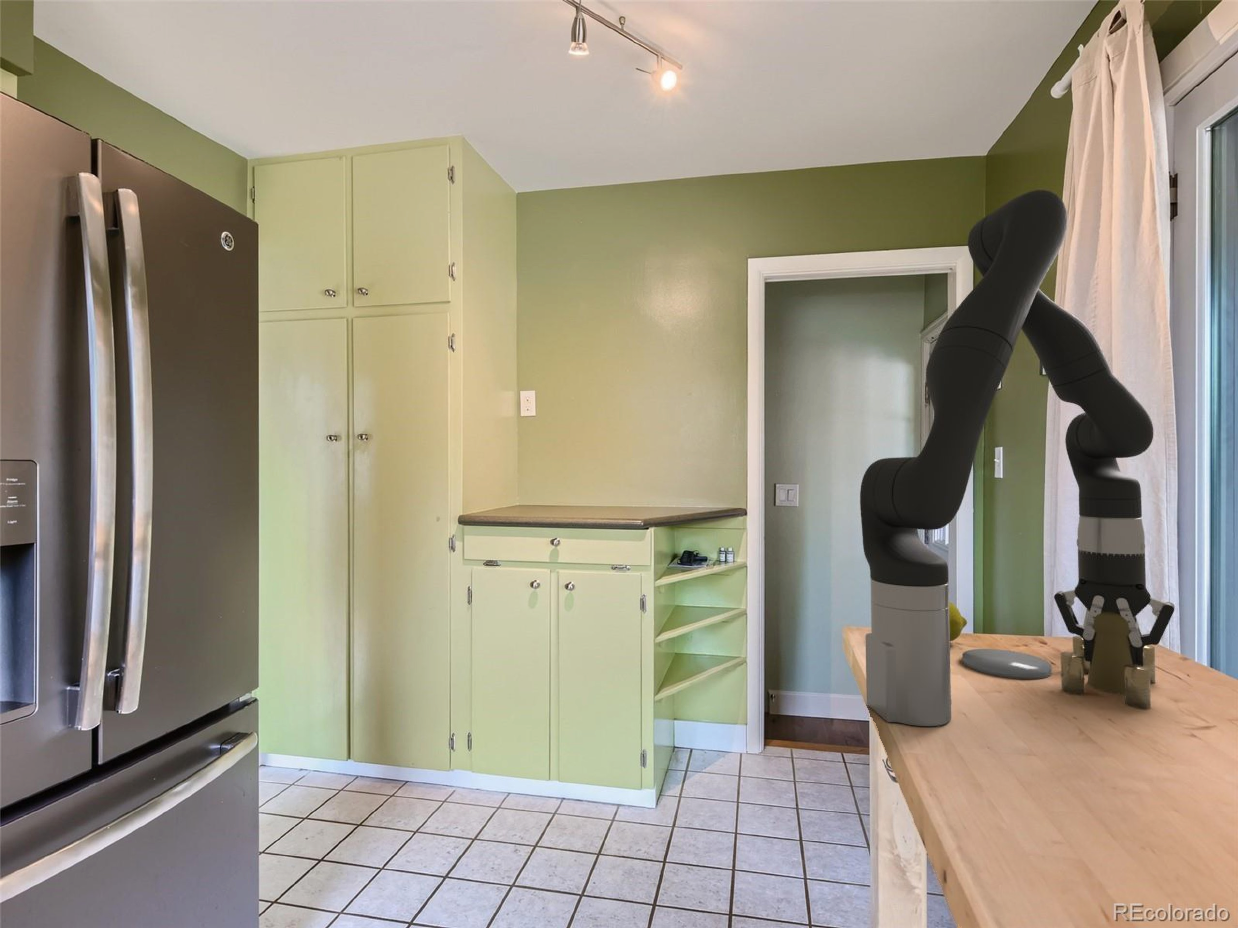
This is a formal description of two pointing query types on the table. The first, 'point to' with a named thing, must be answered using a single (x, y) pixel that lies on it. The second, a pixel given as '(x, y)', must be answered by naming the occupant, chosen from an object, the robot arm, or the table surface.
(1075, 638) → the cylinder
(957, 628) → the lemon
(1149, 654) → the cylinder
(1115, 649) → the cork
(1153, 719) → the table surface
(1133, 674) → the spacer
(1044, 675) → the slate coaster
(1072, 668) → the cylinder
